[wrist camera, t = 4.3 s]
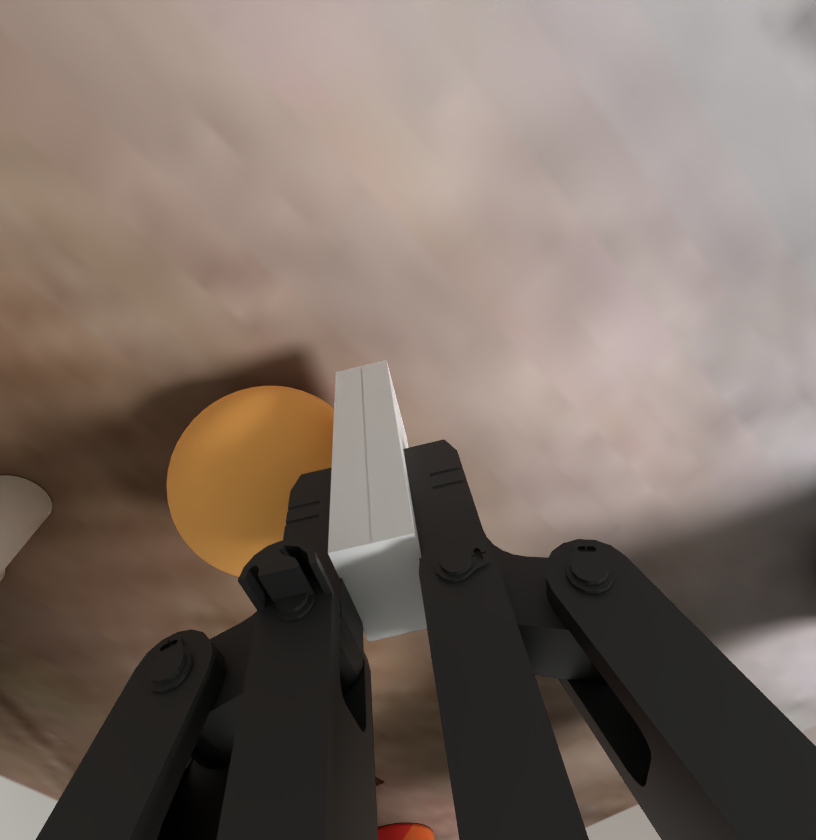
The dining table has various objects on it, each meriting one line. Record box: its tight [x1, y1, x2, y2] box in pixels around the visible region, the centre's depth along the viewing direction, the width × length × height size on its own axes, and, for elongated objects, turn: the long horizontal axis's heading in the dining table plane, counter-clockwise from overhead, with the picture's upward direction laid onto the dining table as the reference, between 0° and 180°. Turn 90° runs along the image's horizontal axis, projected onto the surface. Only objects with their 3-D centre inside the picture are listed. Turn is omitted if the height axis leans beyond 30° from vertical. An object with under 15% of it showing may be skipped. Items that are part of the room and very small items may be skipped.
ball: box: [167, 386, 334, 577], centre depth 15 cm, size 6×6×6 cm
